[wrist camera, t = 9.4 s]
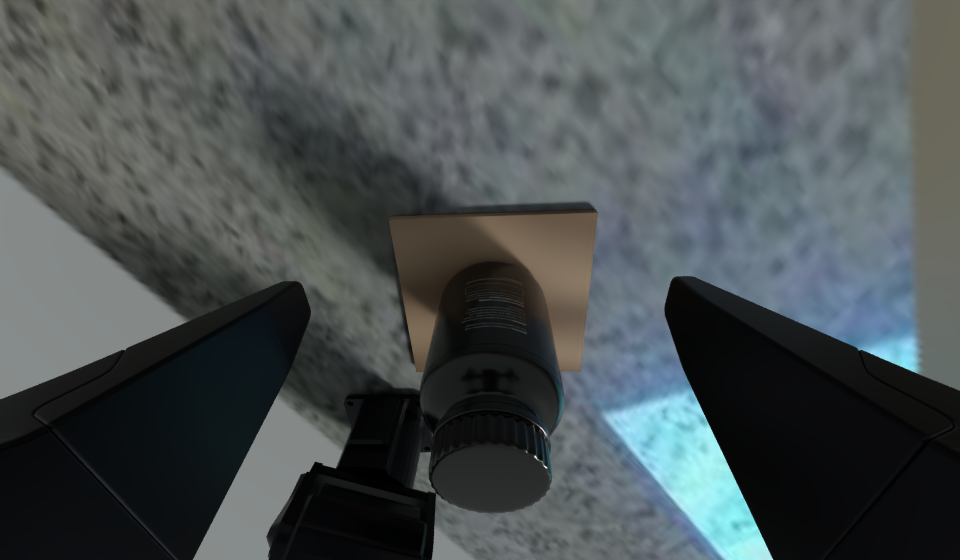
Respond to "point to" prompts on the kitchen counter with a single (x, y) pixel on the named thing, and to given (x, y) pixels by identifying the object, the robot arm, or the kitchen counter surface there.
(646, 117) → the kitchen counter surface
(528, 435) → the supplement bottle
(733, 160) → the kitchen counter surface
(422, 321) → the tan board
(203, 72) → the kitchen counter surface
